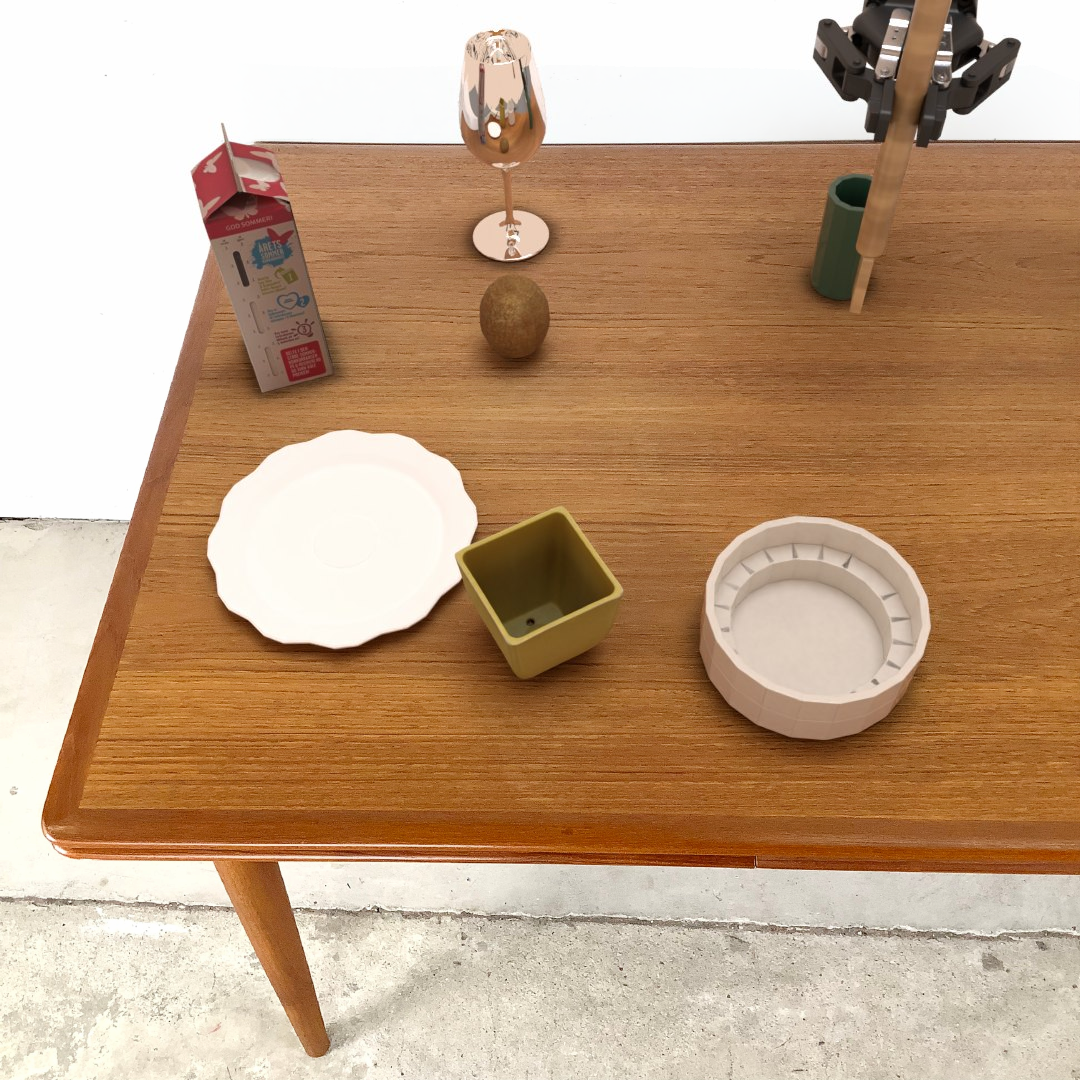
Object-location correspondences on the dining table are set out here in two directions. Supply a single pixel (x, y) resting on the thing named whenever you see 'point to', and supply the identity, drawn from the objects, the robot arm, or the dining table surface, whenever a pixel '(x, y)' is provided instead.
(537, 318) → the fruit
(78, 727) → the dining table surface
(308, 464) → the plate
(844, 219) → the holder
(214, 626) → the dining table surface
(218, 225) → the juice carton
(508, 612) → the flower pot
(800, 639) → the bowl
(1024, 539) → the dining table surface
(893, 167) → the stirring stick
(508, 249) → the wineglass
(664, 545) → the dining table surface
